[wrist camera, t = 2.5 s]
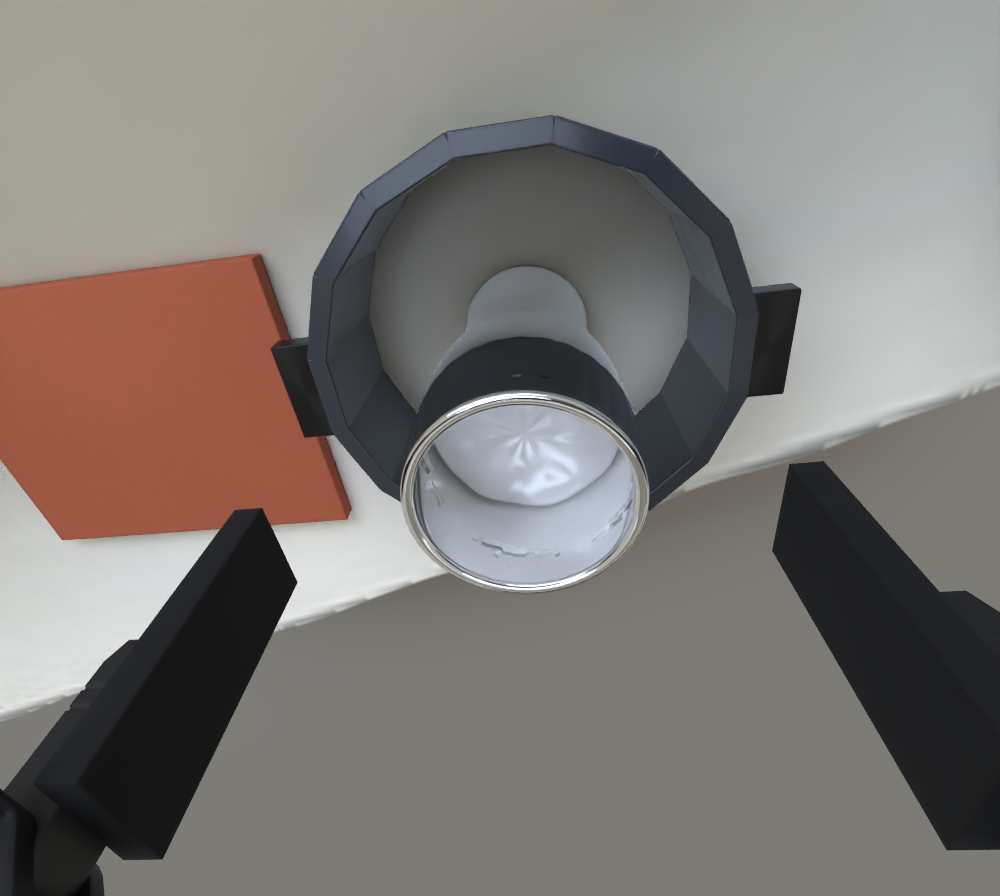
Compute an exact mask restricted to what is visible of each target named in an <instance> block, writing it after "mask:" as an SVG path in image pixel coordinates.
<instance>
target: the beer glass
mask: <svg viewBox="0 0 1000 896" xmlns="http://www.w3.org/2000/svg"><path fill="white" fill-rule="evenodd" d="M649 495H650V492H649V481H648V476H647V472H646V468H645V466H644V463H643V460H642V454H641V448H640V442H639V437H638V433H637V428H636V423H635V418H634V415H633V412H632V408H631V405H630V402H629V398H628V395H627V392H626V390H625V387H624V385H623V383H622V381H621V379H620V376H619V374H618V372H617V370H616V368H615V366H614V364H613V362H612V361H611V359H610V358H609V356H608V355H607V354H606V352H605V351H604V350H603V348H602V347H601V346H600V345H599V343H598V342H597V341H596V340H595V338H594V337H593V336H592V335H591V334H590V333H589V332H588V331H587V317H586V311H585V307H584V304H583V302H582V300H581V298H580V296H579V294H578V292H577V291H576V290H575V289H574V287H573V286H572V285H571V284H570V283H569V282H568V281H567V280H565V279H564V278H563V277H561V276H560V275H558V274H557V273H555V272H553V271H551V270H548V269H545V268H541V267H536V266H519V267H514V268H510V269H507V270H504V271H502V272H500V273H498V274H496V275H494V276H493V277H492V278H490V279H489V280H488V281H487V282H485V283H484V284H483V285H482V287H481V288H480V289H479V290H478V292H477V293H476V295H475V296H474V298H473V300H472V302H471V305H470V308H469V311H468V316H467V330H466V331H465V332H464V333H463V334H462V335H461V336H460V337H459V338H458V339H457V340H456V341H455V343H454V344H453V345H452V346H451V347H450V349H449V350H448V351H447V352H446V354H445V355H444V356H443V358H442V359H441V361H440V362H439V364H438V366H437V368H436V370H435V372H434V374H433V376H432V378H431V380H430V382H429V384H428V386H427V389H426V391H425V394H424V397H423V400H422V403H421V406H420V409H419V412H418V415H417V418H416V423H415V427H414V431H413V435H412V439H411V444H410V449H409V454H408V458H407V460H406V463H405V465H404V469H403V472H402V477H401V486H400V497H401V506H402V511H403V514H404V518H405V521H406V523H407V526H408V528H409V530H410V532H411V534H412V535H413V537H414V539H415V540H416V542H417V543H418V544H419V546H420V547H421V548H422V549H423V550H424V552H425V553H426V554H427V555H428V556H429V557H430V558H431V559H432V560H433V561H435V562H436V563H437V564H438V565H439V566H441V567H442V568H444V569H445V570H446V571H448V572H450V573H451V574H453V575H455V576H457V577H458V578H460V579H462V580H464V581H467V582H469V583H471V584H474V585H477V586H480V587H483V588H487V589H490V590H495V591H500V592H506V593H516V594H535V593H547V592H553V591H558V590H562V589H566V588H570V587H573V586H576V585H579V584H581V583H584V582H586V581H588V580H590V579H592V578H594V577H596V576H598V575H600V574H601V573H603V572H604V571H606V570H607V569H609V568H610V567H611V566H613V565H614V564H615V563H616V562H617V561H618V560H620V559H621V558H622V557H623V556H624V554H625V553H626V552H627V551H628V550H629V549H630V547H631V546H632V545H633V543H634V542H635V540H636V539H637V537H638V536H639V534H640V532H641V530H642V527H643V525H644V522H645V520H646V516H647V512H648V507H649Z"/></svg>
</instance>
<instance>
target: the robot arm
mask: <svg viewBox="0 0 1000 896" xmlns="http://www.w3.org/2000/svg"><path fill="white" fill-rule="evenodd" d="M772 551H773V553H774V554H775V556H776V558H777V560H778V561H779V563H780V565H781V566H782V568H783V570H784V572H785V573H786V575H787V577H788V579H789V580H790V582H791V584H792V585H793V587H794V589H795V591H796V592H797V594H798V596H799V597H800V599H801V601H802V603H803V604H804V606H805V608H806V609H807V611H808V613H809V615H810V616H811V618H812V620H813V621H814V623H815V625H816V627H817V628H818V630H819V632H820V633H821V635H822V637H823V639H824V640H825V642H826V644H827V645H828V647H829V649H830V651H831V652H832V654H833V656H834V657H835V659H836V661H837V662H838V664H839V666H840V668H841V670H842V671H843V673H844V675H845V676H846V678H847V680H848V682H849V683H850V685H851V687H852V688H853V690H854V692H855V693H856V695H857V697H858V699H859V700H860V702H861V704H862V706H863V707H864V709H865V711H866V712H867V714H868V716H869V718H870V719H871V721H872V722H873V724H874V726H875V728H876V730H877V731H878V733H879V734H880V736H881V738H882V740H883V742H884V743H885V745H886V747H887V749H888V750H889V752H890V754H891V755H892V757H893V759H894V761H895V762H896V764H897V766H898V767H899V769H900V771H901V773H902V774H903V776H904V778H905V779H906V781H907V783H908V784H909V786H910V788H911V790H912V791H913V793H914V795H915V797H916V798H917V800H918V802H919V803H920V805H921V807H922V809H923V810H924V812H925V814H926V815H927V817H928V819H929V820H930V822H931V824H932V826H933V827H934V829H935V831H936V832H937V834H938V836H939V838H940V839H941V841H942V843H943V845H944V846H945V848H946V850H999V849H1000V612H999V611H997V610H995V609H994V608H992V607H991V606H989V605H988V604H986V603H984V602H983V601H981V600H980V599H978V598H976V597H975V596H974V595H972V594H970V593H969V592H967V591H952V592H939V591H938V590H937V589H936V587H935V586H934V585H933V584H932V583H931V582H930V581H929V580H928V579H927V577H926V576H925V575H924V574H923V573H922V572H921V571H920V569H919V568H918V567H917V566H916V565H915V564H914V563H913V562H912V560H911V559H910V558H909V557H908V556H907V555H906V554H905V553H904V551H903V550H902V549H901V548H900V547H899V546H898V545H897V544H896V542H895V541H894V540H893V539H892V538H891V537H890V536H889V535H888V533H887V532H886V531H885V530H884V529H883V528H882V527H881V525H880V524H879V523H878V522H877V521H876V520H875V519H874V518H873V516H872V515H871V514H870V513H869V512H868V511H867V510H866V509H865V507H864V506H863V505H862V504H861V503H860V502H859V501H858V500H857V498H855V496H854V495H853V494H852V493H851V492H850V491H849V489H848V488H847V487H846V486H845V485H844V484H843V483H842V482H841V480H840V479H839V478H838V477H837V476H836V475H835V474H834V473H833V471H832V470H831V469H830V468H829V467H828V466H827V465H826V464H825V463H824V461H822V462H810V463H798V464H789V470H788V474H787V479H786V484H785V489H784V494H783V499H782V504H781V509H780V514H779V519H778V524H777V529H776V534H775V540H774V544H773V549H772ZM296 585H297V580H296V578H295V576H294V574H293V572H292V570H291V568H290V565H289V563H288V561H287V559H286V557H285V555H284V553H283V551H282V549H281V546H280V544H279V542H278V540H277V538H276V536H275V534H274V532H273V529H272V527H271V525H270V523H269V521H268V519H267V517H266V515H265V512H264V510H263V508H253V509H241V510H234V512H233V513H232V514H231V516H230V517H229V518H228V520H227V521H226V522H225V524H224V525H223V526H222V528H221V529H220V530H219V532H218V533H217V534H216V536H215V537H214V539H213V540H212V541H211V543H210V544H209V545H208V547H207V548H206V549H205V551H204V552H203V553H202V555H201V556H200V557H199V559H198V560H197V561H196V563H195V564H194V566H193V567H192V568H191V570H190V571H189V572H188V574H187V575H186V576H185V578H184V579H183V580H182V582H181V583H180V584H179V586H178V587H177V588H176V590H175V591H174V593H173V594H172V595H171V597H170V598H169V599H168V601H167V602H166V603H165V605H164V606H163V607H162V609H161V610H160V611H159V613H158V614H157V615H156V617H155V618H154V620H153V621H152V622H151V624H150V625H149V626H148V628H147V629H146V630H145V632H144V633H143V634H142V636H141V637H140V638H139V640H129V641H127V642H126V643H125V644H124V645H123V646H122V647H120V648H119V649H118V650H117V651H116V652H115V653H113V654H112V655H111V656H110V657H109V658H108V659H106V660H105V661H104V662H103V664H102V665H101V666H100V668H99V669H98V670H97V671H96V673H95V674H94V675H93V677H92V678H91V679H90V680H89V682H88V683H87V684H86V689H85V690H82V691H81V692H80V693H79V695H78V696H77V697H76V698H75V700H74V701H73V702H72V704H71V705H70V710H69V711H65V713H64V714H63V715H62V717H61V718H60V719H59V720H58V722H57V723H56V724H55V726H54V727H53V728H52V729H51V731H50V732H49V733H48V735H47V736H46V737H45V739H44V740H43V741H42V742H41V744H40V745H39V746H38V748H37V749H36V750H35V751H34V753H33V754H32V755H31V757H30V758H29V759H28V761H27V762H26V763H25V765H24V766H23V767H22V768H21V769H20V771H19V772H18V773H17V775H16V776H15V777H14V779H13V780H12V781H11V782H10V784H9V785H8V786H7V787H6V789H5V790H4V791H2V790H1V789H0V896H104V885H103V876H102V873H101V870H100V868H99V866H98V865H97V864H96V862H97V861H98V859H99V857H100V855H101V854H102V852H103V850H104V848H105V847H106V846H107V847H108V848H110V849H111V850H112V851H113V852H114V853H116V854H117V855H118V856H119V857H120V858H122V859H123V860H155V859H163V857H164V855H165V853H166V851H167V849H168V847H169V845H170V843H171V841H172V838H173V837H174V834H175V832H176V830H177V828H178V826H179V824H180V822H181V820H182V818H183V816H184V814H185V812H186V810H187V808H188V806H189V804H190V802H191V800H192V798H193V796H194V794H195V792H196V789H197V787H198V785H199V783H200V781H201V779H202V777H203V775H204V773H205V771H206V769H207V767H208V765H209V763H210V761H211V758H212V757H213V755H214V752H215V750H216V748H217V746H218V744H219V742H220V740H221V738H222V736H223V734H224V732H225V730H226V728H227V726H228V724H229V722H230V720H231V717H232V716H233V714H234V711H235V710H236V707H237V705H238V703H239V701H240V699H241V697H242V695H243V693H244V691H245V689H246V687H247V685H248V683H249V681H250V679H251V677H252V675H253V673H254V671H255V669H256V667H257V664H258V662H259V660H260V658H261V656H262V654H263V652H264V650H265V648H266V646H267V644H268V642H269V640H270V638H271V636H272V634H273V632H274V630H275V628H276V626H277V623H278V621H279V619H280V617H281V615H282V613H283V611H284V609H285V607H286V605H287V603H288V601H289V599H290V597H291V595H292V593H293V591H294V589H295V587H296Z"/></svg>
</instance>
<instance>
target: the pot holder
mask: <svg viewBox="0 0 1000 896" xmlns="http://www.w3.org/2000/svg"><path fill="white" fill-rule="evenodd" d="M288 339H290V337H289V334H288V331H287V329H286V326H285V323H284V320H283V317H282V315H281V312H280V309H279V306H278V303H277V301H276V298H275V295H274V292H273V289H272V287H271V284H270V281H269V278H268V275H267V273H266V270H265V267H264V264H263V262H262V259H261V256H260V254H252V255H245V256H237V257H230V258H222V259H215V260H207V261H199V262H192V263H184V264H177V265H169V266H162V267H154V268H147V269H139V270H132V271H124V272H116V273H109V274H101V275H94V276H86V277H79V278H71V279H64V280H56V281H49V282H41V283H33V284H26V285H18V286H11V287H3V288H0V459H1V461H2V462H3V463H4V465H5V466H6V467H7V469H8V470H9V471H10V473H11V474H12V475H13V476H14V478H15V479H16V480H17V482H18V483H19V484H20V486H21V487H22V488H23V490H24V491H25V492H26V493H27V495H28V496H29V497H30V499H31V500H32V501H33V503H34V504H35V505H36V507H37V508H38V509H39V510H40V512H41V513H42V514H43V516H44V517H45V518H46V520H47V521H48V522H49V524H50V525H51V526H52V527H53V529H54V530H55V531H56V533H57V534H58V535H59V537H60V538H61V539H62V540H73V539H87V538H101V537H114V536H128V535H141V534H155V533H169V532H182V531H196V530H210V529H221V528H222V526H223V525H224V524H225V522H226V521H227V520H228V518H229V517H230V516H231V514H232V513H233V512H234V510H241V509H253V508H263V510H264V512H265V515H266V517H267V519H268V521H269V523H270V525H278V524H292V523H305V522H319V521H333V520H346V519H348V516H349V514H350V512H351V507H350V504H349V502H348V499H347V496H346V493H345V490H344V488H343V485H342V482H341V479H340V476H339V474H338V471H337V468H336V465H335V463H334V460H333V457H332V454H331V451H330V449H329V446H328V443H327V440H326V437H325V436H319V437H308V438H304V436H303V433H302V430H301V428H300V425H299V423H298V420H297V417H296V415H295V412H294V410H293V407H292V404H291V402H290V399H289V396H288V394H287V391H286V389H285V386H284V383H283V381H282V378H281V376H280V373H279V370H278V368H277V365H276V363H275V360H274V357H273V355H272V352H271V350H270V348H271V347H272V346H273V345H274V344H275V343H276V342H277V341H279V340H288Z"/></svg>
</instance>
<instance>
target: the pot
mask: <svg viewBox="0 0 1000 896" xmlns="http://www.w3.org/2000/svg"><path fill="white" fill-rule="evenodd" d="M547 145H553V146H557V147H560V148H563V149H566V150H569V151H572V152H575V153H579V154H582V155H585V156H588V157H591V158H594V159H597V160H601V161H604V162H607V163H610V164H613V165H616V166H619V167H623V168H624V169H625V170H626V171H627V172H628V173H629V174H630V175H631V176H632V177H633V178H634V179H635V180H636V181H637V182H638V183H639V184H640V185H641V186H642V187H643V188H644V189H645V190H646V191H647V192H648V193H650V194H651V195H652V196H653V197H654V198H655V199H656V200H657V201H658V202H659V203H660V204H661V205H662V206H663V207H664V208H665V209H666V210H667V211H668V213H669V216H670V219H671V221H672V224H673V227H674V229H675V232H676V235H677V237H678V240H679V243H680V245H681V248H682V251H683V253H684V256H685V259H686V262H687V264H688V267H689V270H690V272H691V283H690V299H689V315H688V330H687V339H686V341H685V343H684V345H683V347H682V349H681V351H680V353H679V355H678V357H677V359H676V361H675V363H674V365H673V367H672V369H671V371H670V373H669V375H668V377H667V379H666V382H665V384H664V386H663V388H662V390H661V392H660V393H659V394H658V395H657V396H656V397H655V398H654V399H653V400H652V401H651V402H649V403H648V404H647V405H646V406H645V407H644V408H643V409H642V410H641V411H640V412H639V413H638V414H637V415H636V416H635V417H634V418H635V423H636V428H637V433H638V437H639V442H640V448H641V454H642V460H643V463H644V466H645V468H646V472H647V476H648V481H649V492H650V495H649V507H648V511H649V510H651V509H652V508H653V507H655V506H656V505H657V504H658V503H659V502H661V501H662V500H663V499H664V498H666V497H667V496H668V495H669V494H670V493H672V492H673V491H674V490H675V489H677V488H678V487H679V486H680V485H682V484H683V483H684V482H685V481H686V480H688V479H689V478H690V477H691V476H693V475H694V474H695V473H696V472H698V471H699V470H700V469H701V468H702V467H704V466H705V465H706V464H708V462H709V460H710V459H711V457H712V455H713V454H714V452H715V450H716V449H717V447H718V445H719V444H720V442H721V440H722V439H723V437H724V435H725V433H726V432H727V430H728V428H729V427H730V425H731V423H732V422H733V420H734V418H735V417H736V415H737V413H738V412H739V410H740V408H741V407H742V405H743V403H744V401H745V400H746V398H747V397H752V396H763V395H774V394H782V393H783V392H784V386H785V381H786V375H787V369H788V364H789V358H790V352H791V347H792V341H793V335H794V330H795V324H796V318H797V313H798V307H799V302H800V296H801V288H799V287H798V286H796V285H794V284H793V283H786V284H777V285H769V286H760V287H752V286H751V283H750V279H749V276H748V273H747V270H746V267H745V264H744V261H743V258H742V254H741V251H740V248H739V245H738V242H737V239H736V236H735V232H734V229H733V226H732V224H731V223H730V220H729V219H728V218H727V217H726V216H725V215H724V214H723V213H722V212H721V211H720V210H719V209H718V208H717V207H716V206H715V205H714V204H713V203H712V202H711V201H710V200H709V199H708V198H707V197H706V196H705V195H704V194H703V193H702V192H701V191H700V190H699V189H698V188H697V187H696V186H695V185H694V183H693V182H692V181H691V180H690V179H689V178H688V177H687V176H686V175H685V174H684V173H683V172H682V171H681V170H680V169H679V168H678V167H677V166H676V165H675V164H674V163H673V162H672V161H671V160H670V159H669V158H668V157H667V156H666V155H665V154H664V153H663V152H662V151H661V150H658V149H657V148H655V147H652V146H649V145H646V144H643V143H640V142H637V141H634V140H631V139H628V138H624V137H621V136H618V135H615V134H612V133H609V132H606V131H603V130H600V129H597V128H594V127H591V126H588V125H584V124H581V123H578V122H575V121H572V120H569V119H566V118H563V117H560V116H553V115H550V116H543V117H537V118H530V119H524V120H517V121H511V122H504V123H498V124H491V125H485V126H478V127H472V128H465V129H458V130H452V131H447V132H446V133H442V134H441V135H439V136H438V137H436V138H435V139H434V140H432V141H431V142H429V143H428V144H426V145H425V146H424V147H422V148H421V149H419V150H418V151H416V152H415V153H414V154H412V155H411V156H409V157H408V158H406V159H405V160H404V161H402V162H401V163H399V164H398V165H396V166H395V167H394V168H392V169H391V170H389V171H388V172H386V173H385V174H383V175H382V176H381V177H379V178H378V179H376V180H375V181H373V182H372V183H371V184H369V185H368V186H366V187H365V188H363V189H362V190H361V191H360V193H358V195H357V196H356V198H355V200H354V202H353V204H352V205H351V207H350V209H349V211H348V213H347V214H346V216H345V218H344V220H343V221H342V223H341V225H340V227H339V229H338V230H337V232H336V234H335V236H334V238H333V239H332V241H331V243H330V245H329V247H328V248H327V250H326V252H325V254H324V256H323V257H322V259H321V261H320V263H319V265H318V266H317V268H316V270H315V272H314V275H313V281H312V295H311V309H310V323H309V337H305V338H297V339H288V340H279V341H277V342H276V343H275V344H274V345H273V346H272V347H271V348H270V350H271V352H272V355H273V357H274V360H275V363H276V365H277V368H278V370H279V373H280V376H281V378H282V381H283V383H284V386H285V389H286V391H287V394H288V396H289V399H290V402H291V404H292V407H293V410H294V412H295V415H296V417H297V420H298V423H299V425H300V428H301V430H302V433H303V436H304V438H308V437H319V436H330V435H334V436H335V437H336V438H337V439H338V440H339V442H340V443H341V444H342V445H343V446H344V448H345V449H346V450H347V451H348V452H349V453H350V455H351V456H352V457H353V458H354V459H355V461H356V462H357V463H358V464H359V465H360V466H361V468H362V469H363V470H364V471H365V472H366V473H367V475H368V476H369V477H370V478H371V479H372V481H373V482H374V483H375V484H376V485H377V486H378V488H379V489H381V490H382V491H383V492H385V493H387V494H388V495H390V496H392V497H393V498H395V499H397V500H398V501H400V502H401V497H400V486H401V477H402V472H403V469H404V465H405V463H406V460H407V458H408V454H409V449H410V444H411V439H412V435H413V431H414V427H415V423H416V418H417V415H416V414H415V412H414V411H413V410H412V408H411V407H410V405H409V404H408V403H407V401H406V400H405V399H404V397H403V396H402V395H401V393H400V392H399V390H398V389H397V388H396V386H395V385H394V384H393V382H392V381H391V380H390V378H389V377H388V376H387V374H386V373H385V371H384V370H383V368H382V364H381V361H380V357H379V353H378V349H377V346H376V342H375V338H374V334H373V331H372V327H371V323H370V320H369V316H368V305H369V298H370V290H371V283H372V275H373V268H374V260H375V253H376V248H377V246H378V245H379V243H380V241H381V240H382V238H383V236H384V235H385V233H386V232H387V230H388V228H389V227H390V225H391V223H392V222H393V220H394V218H395V217H396V215H397V213H398V212H399V210H400V209H401V207H402V205H403V204H404V202H405V200H406V199H407V197H408V195H409V194H410V192H411V190H413V189H414V188H416V187H417V186H419V185H420V184H422V183H423V182H425V181H426V180H428V179H429V178H431V177H432V176H434V175H435V174H437V173H438V172H440V171H441V170H442V169H444V168H445V167H447V166H448V165H450V164H451V163H453V162H454V161H456V160H457V159H459V158H466V157H472V156H479V155H486V154H493V153H500V152H506V151H513V150H520V149H527V148H534V147H541V146H547Z"/></svg>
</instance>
